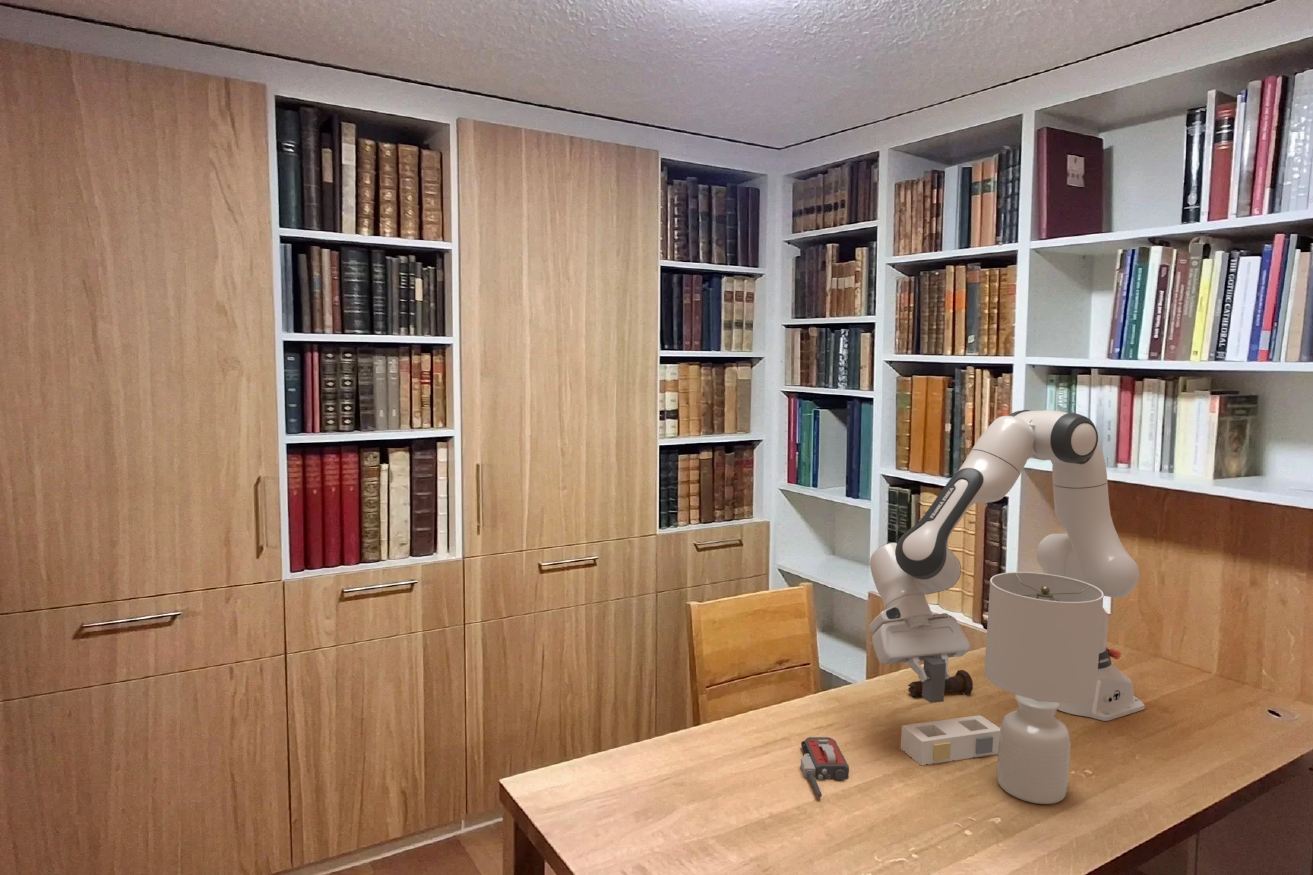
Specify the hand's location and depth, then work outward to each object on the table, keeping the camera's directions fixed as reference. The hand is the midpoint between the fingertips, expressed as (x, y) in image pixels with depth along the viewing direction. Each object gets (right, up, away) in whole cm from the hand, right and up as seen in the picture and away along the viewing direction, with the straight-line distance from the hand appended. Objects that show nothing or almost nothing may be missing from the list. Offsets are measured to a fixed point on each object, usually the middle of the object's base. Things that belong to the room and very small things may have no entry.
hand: (935, 679), depth 163 cm
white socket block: (+4, -16, +4) cm, 17 cm away
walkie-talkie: (-23, -17, -5) cm, 30 cm away
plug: (0, -4, +1) cm, 4 cm away
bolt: (+11, -13, +32) cm, 36 cm away
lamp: (+15, -18, -10) cm, 25 cm away
